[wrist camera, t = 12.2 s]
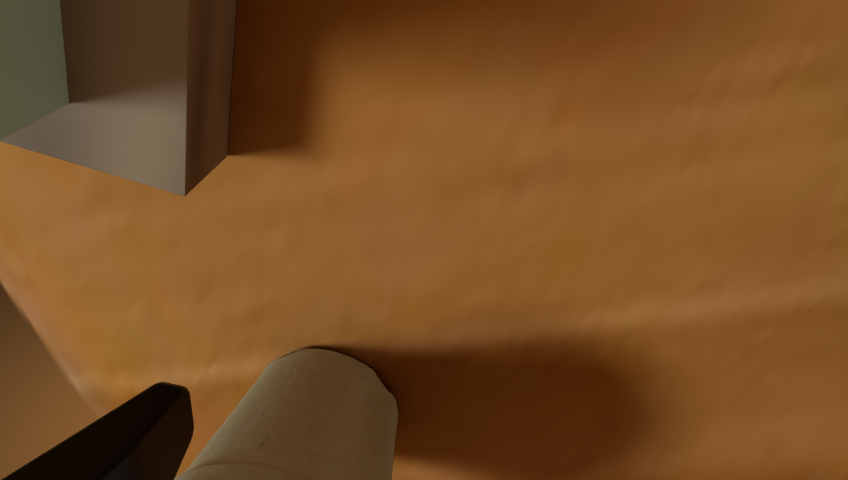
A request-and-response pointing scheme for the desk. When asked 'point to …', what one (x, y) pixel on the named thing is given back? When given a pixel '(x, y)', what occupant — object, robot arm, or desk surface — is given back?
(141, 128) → the base slab
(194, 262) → the desk surface
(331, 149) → the desk surface
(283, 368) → the flower pot
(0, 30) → the pillar
